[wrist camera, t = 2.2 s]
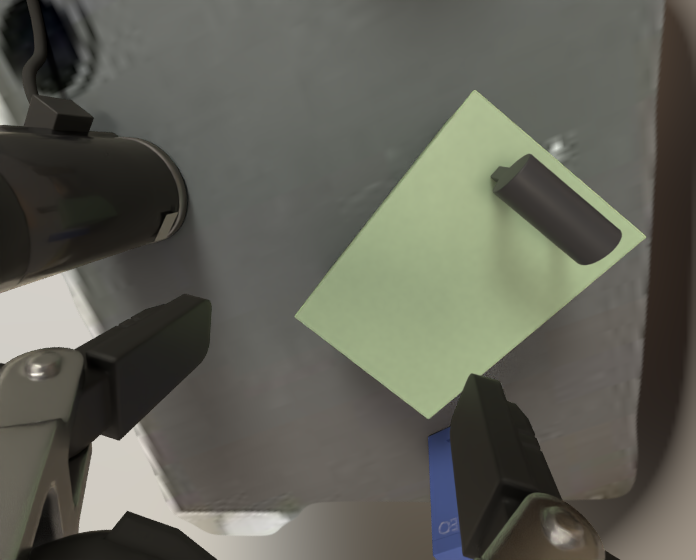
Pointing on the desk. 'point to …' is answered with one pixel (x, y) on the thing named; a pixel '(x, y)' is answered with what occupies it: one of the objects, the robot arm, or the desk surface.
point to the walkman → (443, 499)
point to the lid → (465, 259)
